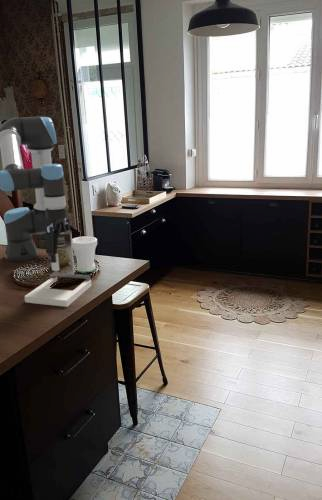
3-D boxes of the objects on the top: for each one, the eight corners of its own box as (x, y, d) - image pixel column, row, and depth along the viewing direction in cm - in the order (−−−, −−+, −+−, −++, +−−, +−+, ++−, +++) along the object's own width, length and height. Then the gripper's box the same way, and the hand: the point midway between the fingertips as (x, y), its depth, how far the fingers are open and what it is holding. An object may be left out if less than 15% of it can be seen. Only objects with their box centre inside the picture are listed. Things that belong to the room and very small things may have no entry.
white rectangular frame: (53, 282, 173) (52, 276, 172) (91, 285, 168) (91, 280, 167) (25, 302, 155) (24, 296, 154) (67, 306, 150) (66, 300, 149)
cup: (102, 267, 189) (100, 236, 184) (94, 276, 178) (92, 243, 174) (78, 266, 191) (75, 235, 186) (69, 275, 180) (66, 243, 176)
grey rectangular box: (49, 277, 159) (44, 235, 154) (51, 271, 165) (46, 230, 160) (74, 275, 160) (70, 233, 155) (75, 269, 166) (71, 229, 161)
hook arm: (54, 282, 173) (53, 272, 172) (90, 285, 168) (89, 275, 167) (52, 283, 172) (51, 273, 170) (89, 286, 167) (88, 276, 166)
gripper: (61, 201, 166) (66, 257, 172) (30, 213, 146) (38, 275, 153) (78, 202, 163) (83, 258, 170) (50, 214, 144) (56, 276, 151)
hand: (61, 266), depth 162 cm, fingers closed on grey rectangular box, 8 cm apart
